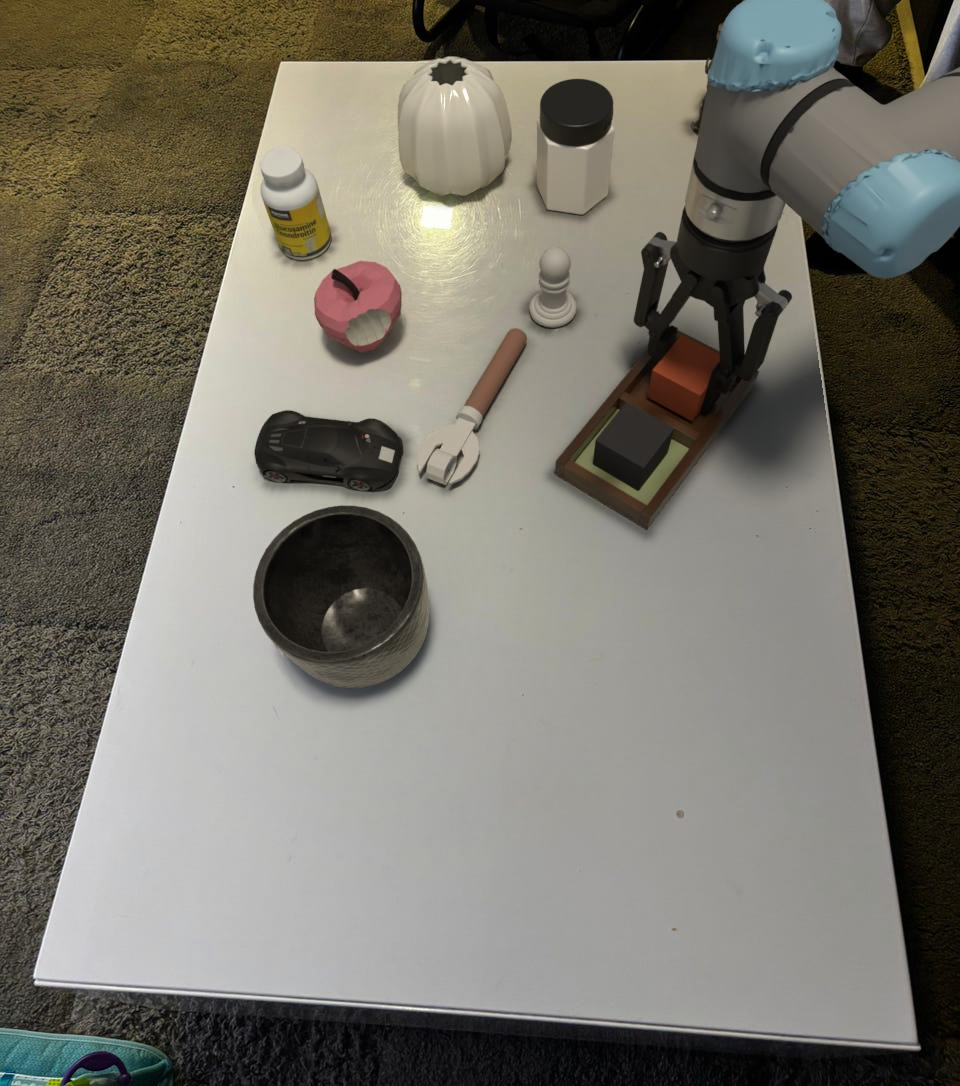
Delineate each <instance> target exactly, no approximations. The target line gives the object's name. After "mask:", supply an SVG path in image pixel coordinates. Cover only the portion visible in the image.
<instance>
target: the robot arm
mask: <svg viewBox="0 0 960 1086" xmlns="http://www.w3.org/2000/svg"><path fill="white" fill-rule="evenodd" d="M723 23H724V24H723V26H722V29H721V33H720V37H719V40H718V44H717V43H716V48H715V51H714V54H713V57H712V59H713V62H712V65H711V67H710V69H709V71H708V74H707V82H708V86H707V85H706V91H705V94H706V98H705V103H704V109H703V114H702V119H701V124H700V130H699V129H698V135H697V141H696V146H695V150H694V155H693V159H692V165H691V169H690V170H691V171H690V174H689V180H688V185H687V190H686V193H685V199H684V206H683V209H682V213H681V218H680V223H679V226H678V227H679V228H678V233H677V238H676V241H674V240H668V237H667V235H666V233H664V232H662V231H657V232H656V233H655V234H654V235H653V236H652V238H651V239H650V240H649V241H648V242H647V243H646V244H645V246H644V247H643V248H642V249H641V251H640V255H641V260H642V265H643V272H642V276H641V282H640V286H639V290H638V296H637V301H636V305H635V310H634V314H633V315H634V316H633V323H634V325H635V326H637V327H639V328H646V330H647V331H648V335H649V338H648V342H647V343H648V344H647V348H646V350H647V352H648V355H650V356H652V357H654V360H653V365H652V370H653V369H654V367H655V366H656V365H657V364H658V363H659V361H661V359H662V358H663V357H664V356H665V354H666V353H667V352H668V351H669V350H670V348H671V347H672V346H673V345H674V343H675V339H676V335H677V331H678V330H679V328H678V327H677V326H675V325H673V324H672V322H674V320H675V319H676V317H677V316H678V315H679V313H680V312H681V310H682V309H683V308H684V306H685V305H686V303H687V302H688V300H689V299H690V298H693V299H695V300H699V301H703V302H705V303H706V304H707V305H709V306H710V307H712V309H713V321H715V322H717V335H718V336H717V337H718V351H719V353H720V362H719V363H718V364H717V366H716V367H715V368H714V369H713V371H712V373H711V376H710V380H709V383H708V388H707V391H706V394H705V398H704V401H703V404H702V407H701V412H703V413H705V414H707V413H708V411H709V410H710V409H711V407H712V406H713V405H714V404H715V402H716V401H717V400H718V398H719V397H720V394H721V393H723V394H726V393H727V392H728V391H729V390H730V388H731V387H732V386H733V384H734V383H735V381H736V378H737V375H739V376H740V378H741V379H742V380H744V381H750V380H751V378H752V377H753V376H754V374H755V373H756V372H757V370H758V371H759V369H760V368H761V367H762V366H763V364H764V361H765V359H766V356H767V353H768V349H769V346H770V344H771V341H772V337H773V335H774V331H775V328H776V326H777V324H778V323H777V322H778V320H779V317H780V316H781V314H782V313H783V312H784V310H785V309H786V308H787V306H788V305H789V304H790V302H791V301H792V299H793V295H792V293H791V292H790V291H789V290H787V289H781V290H780V291H779V292H777V291H775V290H774V289H773V288H772V287H771V286H769V285H768V284H767V283H766V281H767V277H766V272H765V265H766V262H767V260H768V256H769V253H770V250H771V248H772V245H773V242H774V239H775V235H776V233H777V230H778V225H779V222H780V220H781V219H782V215H783V213H784V210H785V207H786V206H788V207H789V208H790V209H791V210H792V211H793V212H794V213H795V214H796V215H798V216H799V217H800V219H802V220H803V221H804V222H805V223H806V224H807V225H809V226H810V227H811V228H812V229H813V230H814V231H815V232H816V233H817V234H818V235H819V236H820V237H821V238H823V240H824V242H825V243H826V244H828V246H829V247H830V248H831V249H832V251H834V252H837V253H841V254H842V255H844V256H845V257H846V258H847V259H849V261H851V262H852V263H854V264H855V265H856V266H858V267H859V268H861V269H862V270H863V271H864V272H866V273H867V274H868V275H870V276H873V277H875V278H878V279H892V278H897V277H899V276H902V275H905V274H907V273H909V272H911V271H912V270H914V269H915V268H917V267H918V266H920V265H922V264H923V263H924V261H925V260H926V259H927V258H928V257H930V255H932V253H935V252H938V251H939V250H940V249H941V248H942V247H943V246H944V245H946V243H947V242H948V241H949V240H950V239H951V237H953V235H955V233H956V232H957V230H958V229H959V228H960V66H959V67H957V68H955V69H953V70H951V71H950V72H948V73H945V74H944V75H942V76H939V77H937V78H935V79H933V80H932V81H930V82H928V83H927V84H924V85H923V86H920V87H918V88H916V89H914V90H912V91H910V92H908V93H906V94H904V95H902V96H900V97H897V98H896V99H893V100H892V101H890V102H888V103H886V104H882V103H880V102H878V101H877V100H875V99H874V98H873V97H872V96H870V95H869V94H868V93H866V92H865V91H863V90H862V89H861V88H860V87H858V86H856V85H855V84H854V83H852V82H851V80H849V79H848V78H847V77H846V76H845V75H843V74H842V73H840V72H839V71H838V70H836V69H835V67H834V66H835V63H836V61H837V59H838V56H839V55H840V49H839V45H840V42H841V38H842V24H841V23H840V21H839V20H838V17H837V13H836V10H835V9H834V8H833V7H832V6H831V5H830V4H829V3H827V2H826V0H825V1H824V0H742V1H741V2H740V3H739V4H737V5H736V6H735V7H733V9H732V10H731V11H730V12H729V13H728V15H727V17H725V20H724V22H723ZM669 261H671V262H672V265H673V267H674V269H675V271H676V274H677V275H678V278H679V280H680V283H679V284H678V286H677V288H676V289H675V291H674V292H673V293H672V295H671V297H670V299H669V300H668V301H667V303H666V305H665V306H664V308H663V309H662V311H661V312H659V311H658V307H659V304H660V300H661V295H662V291H663V287H664V282H665V279H666V275H667V270H668V266H669ZM752 298H755V300H756V305H755V309H756V310H755V312H754V314H755V315H756V317H757V318H756V319H755V321H754V323H753V326H752V327H751V328H752V329H751V332H750V335H749V339H748V343H747V346H746V348H745V320H744V319H745V318H744V305H745V303H746V301H748V300H750V299H752ZM669 326H670V327H669ZM652 370H651V375H652ZM651 375H650V380H651ZM650 380H649V384H650Z"/></svg>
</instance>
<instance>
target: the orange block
mask: <svg viewBox="0 0 960 1086" xmlns="http://www.w3.org/2000/svg"><path fill="white" fill-rule="evenodd" d="M719 362H720V354H718V353H716V352H714V351H712V350H710V349H709V348H707V347H705V346H703V345H701V344H699V343H697V342H695V341H693V340H691V339H689V338H687V337H685V336H683V335H680V337H679V338H678V339H677V340H676V342H675V343H674V345H673V346H672V347H671V348H670V350H669V351H668V352H667V353H666V354H665V356H664V357H663V358H662V359H661V361H659V363H658V364H657V365H656V366H655V367H654V369H653V370H652V375H651V380H650V384H649V389H648V394H647V397H648V398H650V399H652V400H654V401H655V402H657V403H659V404H661V405H663V406H665V407H666V408H668V409H670V410H672V411H674V412H676V413H677V414H679V415H681V416H683V417H685V418H687V419H688V420H690V421H692V422H693V421H694V419H695V418H696V417H697V415H698V414H699V413H700V412H701V407H702V404H703V401H704V398H705V394H706V391H707V388H708V383H709V380H710V376H711V373H712V371H713V369H714V368H715V367H716V366H717V364H718V363H719Z"/></svg>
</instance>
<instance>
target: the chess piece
mask: <svg viewBox="0 0 960 1086" xmlns="http://www.w3.org/2000/svg"><path fill="white" fill-rule="evenodd" d="M538 262H539V263H538V265H539V266H538V267H539V270H540V271H539V273H538V286H539V288H540V290H541V291H539V292H537V293H536V294H535V295H534V296H533V297H532V298H531V300H530V303H529V306H528V310H529V315H530V316H531V318H532V320H533V321H534V322H535V323H536V324H538V325H540V326H543V327H544V328H551V329H552V328H560V327H563V326H565V325H567V324H569V323H571V321H572V320H573V319H574V318H575V316H576V313H577V310H578V309H577V307H578V306H577V302H576V300H575V298H574V296H572V295H571V294H570V293H569V292H568V291H567V290H568V288H569V286H570V284H571V283H570V282H571V280H570V278H571V273H570V270H571V266H572V261H571V257H570V255H569V253H568V252H567V251H566V250H565V249H564V248H562V247H559V246H552V247H549V248H547V249H545V251H543V253H542V254H541V256H540V257H539V261H538Z"/></svg>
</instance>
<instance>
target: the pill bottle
mask: <svg viewBox="0 0 960 1086" xmlns="http://www.w3.org/2000/svg"><path fill="white" fill-rule="evenodd" d="M259 169H260V172H261V174H262V178H263V179H262V181H261V184H260V189H259V190H260V196H261V199H262V202H263V205H264V208H265V210H266V213H267V216H268V218H269V222H270V225H271V227H272V229H273V234H274V236H275V239H276V241H277V243H278V246H279V248H280V250H281V251H282V253H284V255H286V256H288V257H289V258H291V259H295V260H299V261H300V260H303V261H305V260H310V259H314V258H316V257H318V256H320V255H322V254H323V253H324V252H325V251H326V250H327V249H328V247H329V246H330V244H331V241H332V232H331V228H330V224H329V219H328V217H327V214H326V213H327V212H326V209H325V206H324V203H323V199H322V195H321V191H320V188H319V185H318V181H317V179H316V177H315V175H314V173H312V172H311V171H310V170H309V169H308V168H306V167H305V164H304V161H303V157H302V155H301V153H300V152H299V151H298V150H296V149H294V148H292V147H286V146H285V147H283V146H282V147H281V146H280V147H276V148H273V149H271V150H269V151H267V152H266V153H265V154H264V155H263V156H262V157H261V159H260V162H259Z"/></svg>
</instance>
